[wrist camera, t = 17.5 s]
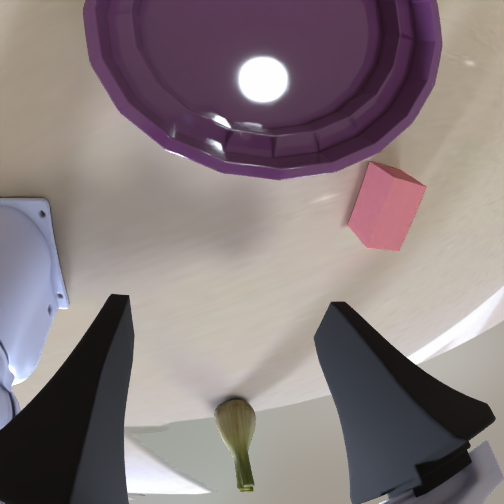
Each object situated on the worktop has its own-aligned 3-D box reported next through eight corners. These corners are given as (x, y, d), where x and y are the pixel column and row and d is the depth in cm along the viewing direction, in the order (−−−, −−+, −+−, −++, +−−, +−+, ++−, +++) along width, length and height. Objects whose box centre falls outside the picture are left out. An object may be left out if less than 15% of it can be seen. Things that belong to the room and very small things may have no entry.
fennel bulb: (226, 391, 30) (242, 488, 21) (262, 396, 32) (283, 484, 23) (206, 410, 33) (216, 496, 23) (239, 414, 35) (254, 494, 25)
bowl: (365, 177, 18) (398, 202, 15) (94, 144, 14) (67, 165, 11) (412, -33, 9) (450, -41, 6) (152, -100, 5) (144, -130, 2)
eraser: (378, 229, 21) (399, 251, 18) (347, 225, 20) (366, 248, 18) (401, 170, 18) (426, 186, 16) (369, 160, 17) (394, 176, 15)
